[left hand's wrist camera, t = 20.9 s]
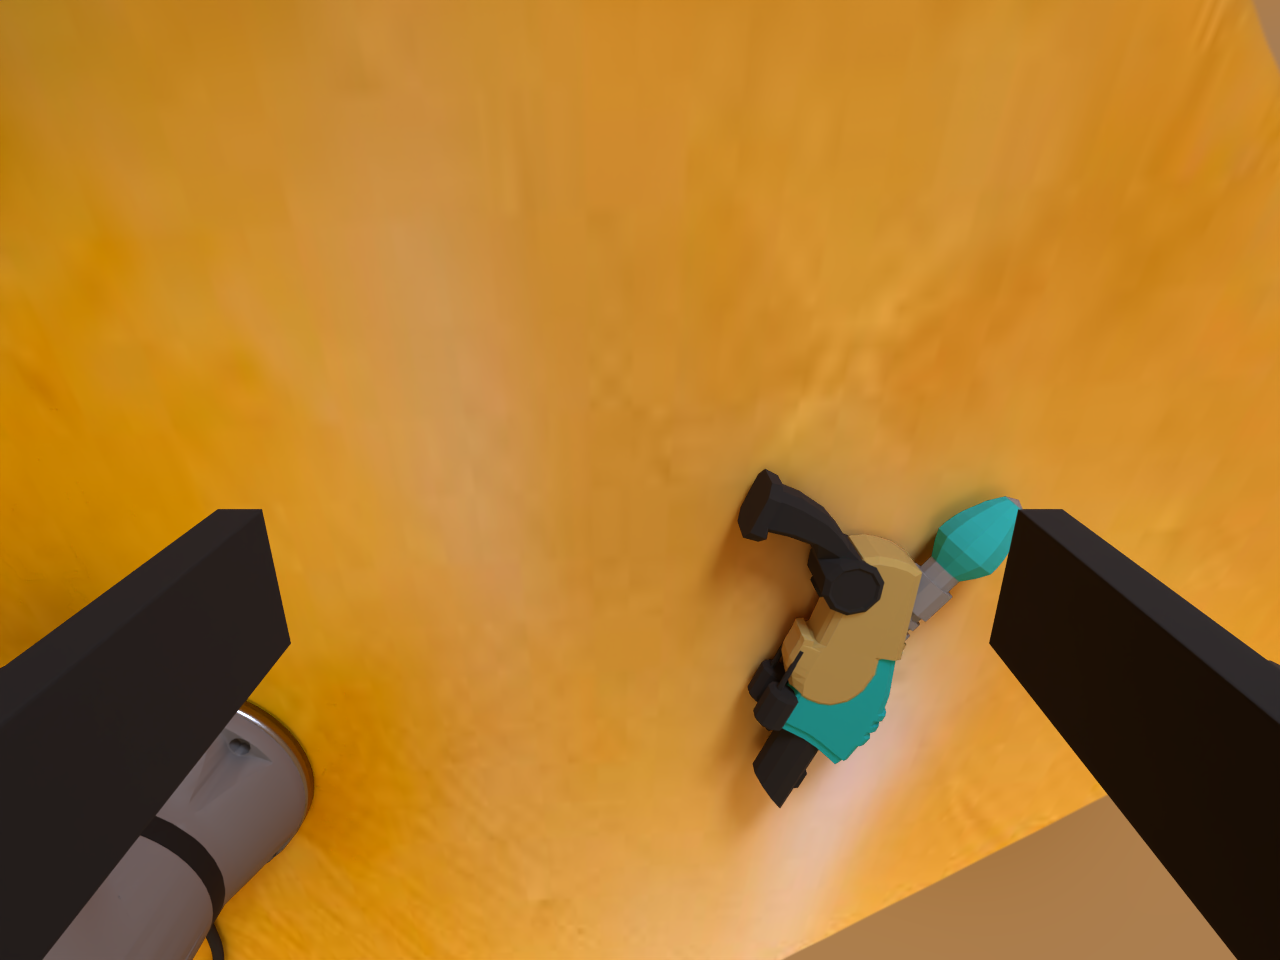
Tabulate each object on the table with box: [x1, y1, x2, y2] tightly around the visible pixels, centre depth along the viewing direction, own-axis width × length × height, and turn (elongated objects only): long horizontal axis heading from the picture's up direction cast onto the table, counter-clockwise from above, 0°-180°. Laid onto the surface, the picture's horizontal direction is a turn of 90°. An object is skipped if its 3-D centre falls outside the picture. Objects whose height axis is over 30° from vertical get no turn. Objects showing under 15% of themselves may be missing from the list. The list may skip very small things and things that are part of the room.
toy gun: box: [738, 469, 1022, 808], centre depth 44 cm, size 4×26×15 cm
